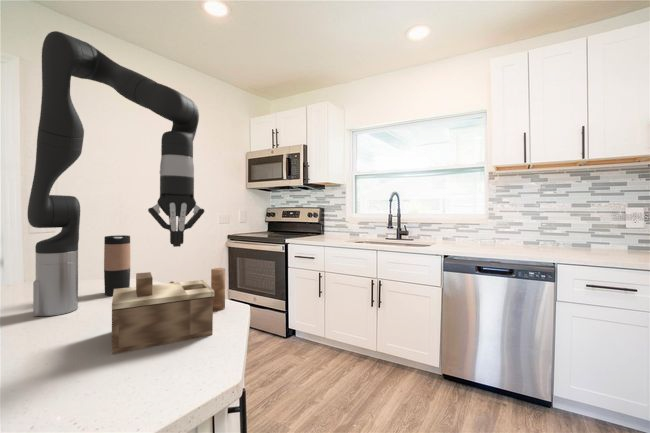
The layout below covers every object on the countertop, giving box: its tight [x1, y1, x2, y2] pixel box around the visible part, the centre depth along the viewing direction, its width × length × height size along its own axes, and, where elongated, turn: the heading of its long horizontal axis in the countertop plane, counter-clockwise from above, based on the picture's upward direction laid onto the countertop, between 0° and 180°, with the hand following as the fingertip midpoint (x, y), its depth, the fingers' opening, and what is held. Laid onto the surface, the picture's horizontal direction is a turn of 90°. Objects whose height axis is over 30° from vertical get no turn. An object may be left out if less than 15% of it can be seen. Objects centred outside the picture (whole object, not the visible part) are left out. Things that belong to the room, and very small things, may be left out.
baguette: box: [210, 267, 226, 312], centre depth 93 cm, size 4×4×12 cm
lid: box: [111, 271, 214, 311], centre depth 74 cm, size 20×14×5 cm, turn 123°
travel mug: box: [103, 234, 131, 297], centre depth 108 cm, size 8×8×20 cm
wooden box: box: [111, 288, 214, 355], centre depth 75 cm, size 20×14×9 cm
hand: (176, 246), depth 76 cm, fingers closed
